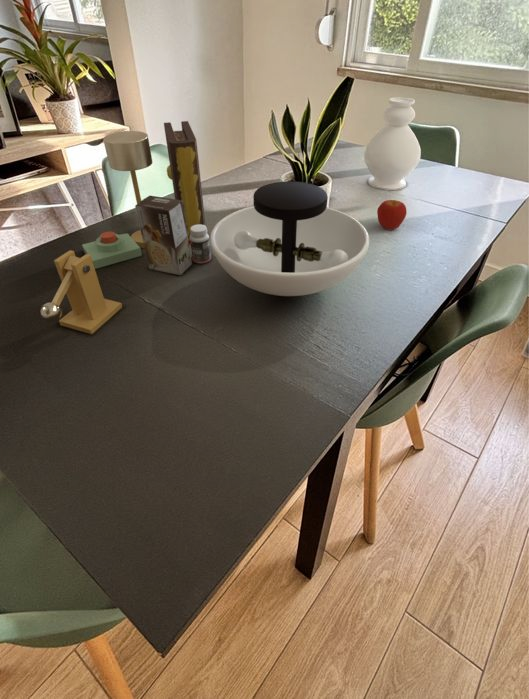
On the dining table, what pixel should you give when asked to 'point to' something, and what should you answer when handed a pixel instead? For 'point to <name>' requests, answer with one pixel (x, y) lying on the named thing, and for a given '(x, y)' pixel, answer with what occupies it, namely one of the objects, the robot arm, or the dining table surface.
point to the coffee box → (164, 234)
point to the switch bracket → (85, 296)
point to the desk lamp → (129, 160)
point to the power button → (108, 237)
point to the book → (185, 172)
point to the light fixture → (289, 241)
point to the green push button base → (112, 250)
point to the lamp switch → (59, 294)
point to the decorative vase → (393, 147)
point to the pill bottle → (200, 244)
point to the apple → (391, 214)
